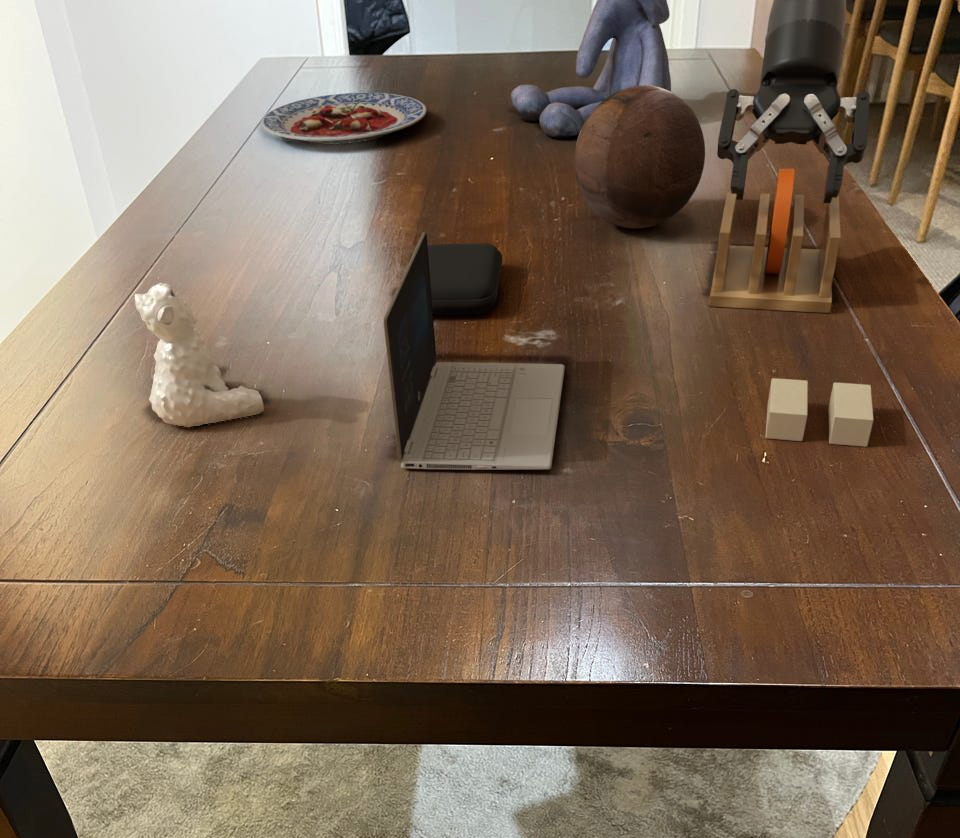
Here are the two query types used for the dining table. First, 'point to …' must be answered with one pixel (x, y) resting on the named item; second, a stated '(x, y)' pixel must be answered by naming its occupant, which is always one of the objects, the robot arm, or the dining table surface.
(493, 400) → the laptop
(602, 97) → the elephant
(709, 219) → the dining table surface
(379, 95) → the ceramic plate
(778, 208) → the disc
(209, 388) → the white creature statuette
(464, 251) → the carrying case
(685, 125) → the wooden sphere
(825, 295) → the rack
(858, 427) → the cubes
